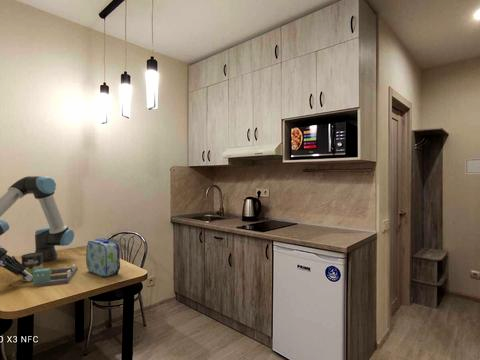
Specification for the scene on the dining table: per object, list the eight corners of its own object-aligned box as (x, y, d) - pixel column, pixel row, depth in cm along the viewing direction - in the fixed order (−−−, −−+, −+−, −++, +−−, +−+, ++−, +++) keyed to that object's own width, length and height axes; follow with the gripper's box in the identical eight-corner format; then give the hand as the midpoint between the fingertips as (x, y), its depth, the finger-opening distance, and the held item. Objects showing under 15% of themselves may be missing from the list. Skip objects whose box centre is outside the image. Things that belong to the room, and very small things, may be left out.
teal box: (36, 282, 162) (36, 269, 162) (50, 280, 164) (50, 267, 164) (32, 285, 157) (32, 272, 157) (47, 284, 159) (47, 270, 159)
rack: (52, 272, 179) (51, 264, 179) (77, 269, 183) (77, 261, 183) (38, 286, 156) (38, 277, 155) (67, 283, 160) (67, 273, 160)
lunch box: (122, 274, 173) (122, 240, 173) (105, 279, 164) (104, 243, 164) (101, 267, 189) (100, 235, 188) (84, 271, 180) (84, 238, 180)
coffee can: (41, 279, 167) (41, 255, 167) (20, 282, 162) (19, 257, 162) (44, 274, 176) (43, 251, 176) (23, 277, 172) (23, 253, 172)
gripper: (-5, 254, 159) (30, 280, 164) (-18, 261, 147) (21, 288, 152) (6, 244, 161) (41, 270, 166) (-6, 249, 148) (33, 277, 154)
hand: (31, 279), depth 159 cm, fingers closed
